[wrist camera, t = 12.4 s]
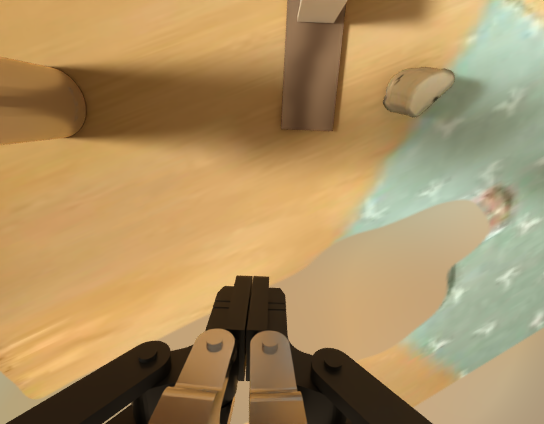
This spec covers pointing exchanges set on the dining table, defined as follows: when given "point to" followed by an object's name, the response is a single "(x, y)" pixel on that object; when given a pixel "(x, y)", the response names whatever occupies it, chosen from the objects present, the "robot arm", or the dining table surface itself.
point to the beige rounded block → (416, 89)
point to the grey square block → (320, 10)
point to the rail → (310, 71)
